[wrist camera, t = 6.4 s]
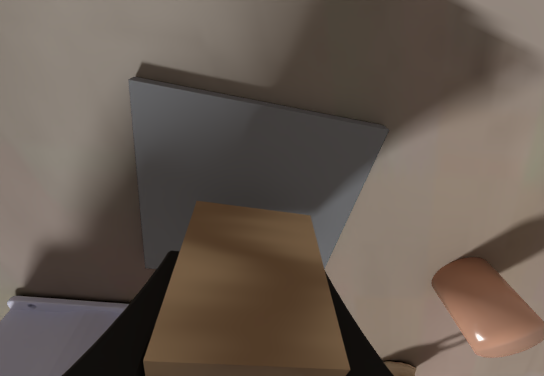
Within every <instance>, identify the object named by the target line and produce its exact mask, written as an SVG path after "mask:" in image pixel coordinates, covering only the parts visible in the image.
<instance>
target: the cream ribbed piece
mask: <svg viewBox="0 0 544 376" xmlns="http://www.w3.org/2000/svg"><path fill="white" fill-rule="evenodd" d="M384 363H385V365H386V366H387V367H388V369H389V370H390V371H391V373H392V374H393V375H394V376H415V371H416V368H415V367H413V366H411V365H409V364H404V363H401V362H391V361H386V362H384Z"/></svg>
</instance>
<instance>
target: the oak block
mask: <svg viewBox="0 0 544 376" xmlns="http://www.w3.org/2000/svg"><path fill="white" fill-rule="evenodd" d="M143 364H144V370H145V376H346V375H347V373H348V372H349V371H350V366H349V363H348V359H347V355H346V351H345V347H344V343H343V339H342V336H341V332H340V328H339V324H338V320H337V316H336V312H335V309H334V305H333V301H332V297H331V293H330V289H329V285H328V282H327V278H326V274H325V270H324V266H323V262H322V258H321V255H320V251H319V247H318V243H317V239H316V235H315V231H314V228H313V224H312V220H311V216H310V215H303V214H296V213H288V212H280V211H273V210H265V209H257V208H250V207H242V206H234V205H226V204H219V203H211V202H203V201H196V204H195V207H194V210H193V213H192V216H191V219H190V222H189V225H188V228H187V231H186V234H185V237H184V240H183V243H182V246H181V249H180V252H179V255H178V258H177V261H176V264H175V267H174V270H173V273H172V276H171V279H170V282H169V285H168V288H167V291H166V294H165V297H164V300H163V303H162V306H161V309H160V312H159V315H158V318H157V321H156V324H155V327H154V330H153V333H152V336H151V339H150V342H149V345H148V348H147V351H146V354H145V357H144V360H143Z"/></svg>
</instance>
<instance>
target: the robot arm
mask: <svg viewBox="0 0 544 376" xmlns="http://www.w3.org/2000/svg"><path fill="white" fill-rule="evenodd" d="M179 252H180V251H172V250H171V251H169V252H168V253H167V255H166V256H165V258H164V259H163V261H162V262H161V264H160V265H159V267H158V268H157V269H156V271H155V272H154V274H153V275H152V276H151V278H150V279H149V280H148V282H147V283H146V284H145V285H144V287H143V288H142V289H141V290H140V292H139V293H138V294H137V295H136V297H135V298H134V299H133V300H132V302H131V303H130V304H124V303H110V302H96V301H83V300H69V299H55V298H42V297H28V296H13V297H11V298H10V299H9V300H8V302H7V304H8V306H9V308H10V311H9V312H8V313H7V314H6V315H5V316H4V318H3V319H2V320H1V321H0V376H145V370H144V364H143V360H144V357H145V354H146V351H147V348H148V345H149V342H150V339H151V336H152V333H153V330H154V327H155V324H156V321H157V318H158V315H159V312H160V309H161V306H162V303H163V300H164V297H165V294H166V291H167V288H168V285H169V282H170V279H171V276H172V273H173V270H174V267H175V264H176V261H177V258H178V255H179ZM325 274H326V272H325ZM326 278H327V282H328V285H329V289H330V293H331V297H332V301H333V305H334V309H335V312H336V316H337V320H338V324H339V328H340V332H341V336H342V339H343V343H344V347H345V351H346V355H347V359H348V363H349V366H350V371H349V372H348V373H347V375H346V376H394V375H393V374H392V373H391V371H390V370H389V369H388V367H387V366H386V365H385V363H384V362H383V361H382V359H381V358H380V357H379V355H378V354H377V353H376V351H375V350H374V348H373V347H372V346H371V344H370V343H369V341H368V340H367V338H366V337H365V336H364V334H363V333H362V331H361V330H360V328H359V327H358V325H357V323H356V322H355V320H354V319H353V317H352V316H351V314H350V312H349V311H348V309H347V308H346V306H345V304H344V303H343V301H342V300H341V298H340V296H339V294H338V293H337V291H336V289H335V288H334V286H333V284H332V283H331V281H330V279H329V277H328V276H327V274H326Z"/></svg>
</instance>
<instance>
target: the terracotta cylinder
mask: <svg viewBox="0 0 544 376" xmlns="http://www.w3.org/2000/svg"><path fill="white" fill-rule="evenodd" d="M432 287H433V288H434V290H435V292H436V293H437V295H438V296H439V298H440V299H441V301H442V302H443V304H444V305H445V307H446V309H447V310H448V312H449V313H450V315H451V316H452V318H453V319H454V321H455V322H456V324H457V326H458V327H459V329H460V330H461V332H462V333H463V335H464V336H465V338H466V340H467V341H468V343H469V344H470V346H471V347H472V349H473V350H474V352H475V353H476V354H477V355H479V356H482V357H488V358H494V357H503V356H508V355H513V354H516V353H519V352H522V351H525V350H527V349H529V348H531V347H533V346H535V345H537V344H538V343H540V342H541V341H543V340H544V321H543V320H542V319H541V318H540V317H539V316H538V315H537V314H536V313H535V312H534V311H533V310H532V309H531V308H530V306H529V305H528V304H527V303H526V302H525V301H524V300H523V299H522V298H521V297H520V296H519V295H518V294H517V293H516V292H515V290H514V289H513V288H512V287H511V286H510V285H509V284H508V283H507V282H506V281H505V280H504V279H503V278H502V277H501V276H500V274H499V273H498V272H497V271H496V270H495V269H494V268H493V267H492V266H491V265H490V264H489V263H488V262H487V261H486V260H484V259H482V258H478V257H468V258H463V259H459V260H456V261H453V262H451V263H449V264H447V265H445V266H444V267H442V268H441V269H440V270H439V271H438V272H437V273H436V274H435V275H434V277H433V279H432Z"/></svg>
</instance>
